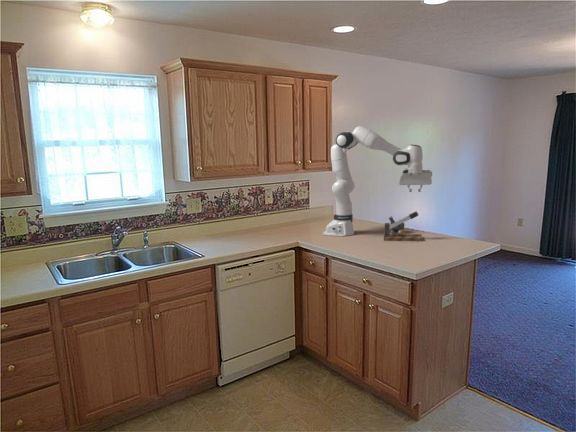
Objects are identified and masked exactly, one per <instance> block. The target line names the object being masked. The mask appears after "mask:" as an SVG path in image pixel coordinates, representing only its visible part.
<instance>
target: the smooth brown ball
mask: <svg viewBox="0 0 576 432" xmlns="http://www.w3.org/2000/svg"><path fill="white" fill-rule="evenodd" d="M404 234H406V233H405V230H404V229H403V230H402V229H400V230H399V231H398V235H399V236H403V235H404Z"/></svg>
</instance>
